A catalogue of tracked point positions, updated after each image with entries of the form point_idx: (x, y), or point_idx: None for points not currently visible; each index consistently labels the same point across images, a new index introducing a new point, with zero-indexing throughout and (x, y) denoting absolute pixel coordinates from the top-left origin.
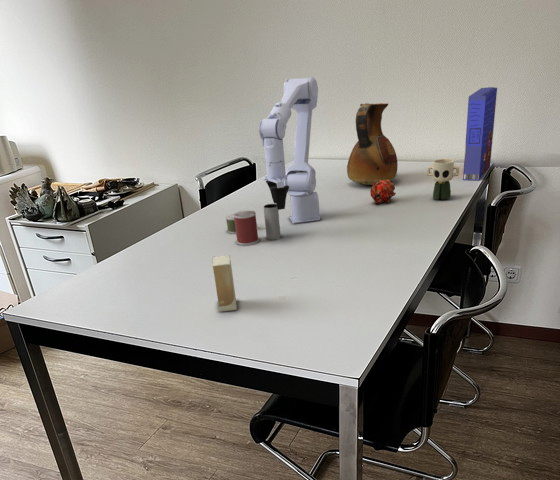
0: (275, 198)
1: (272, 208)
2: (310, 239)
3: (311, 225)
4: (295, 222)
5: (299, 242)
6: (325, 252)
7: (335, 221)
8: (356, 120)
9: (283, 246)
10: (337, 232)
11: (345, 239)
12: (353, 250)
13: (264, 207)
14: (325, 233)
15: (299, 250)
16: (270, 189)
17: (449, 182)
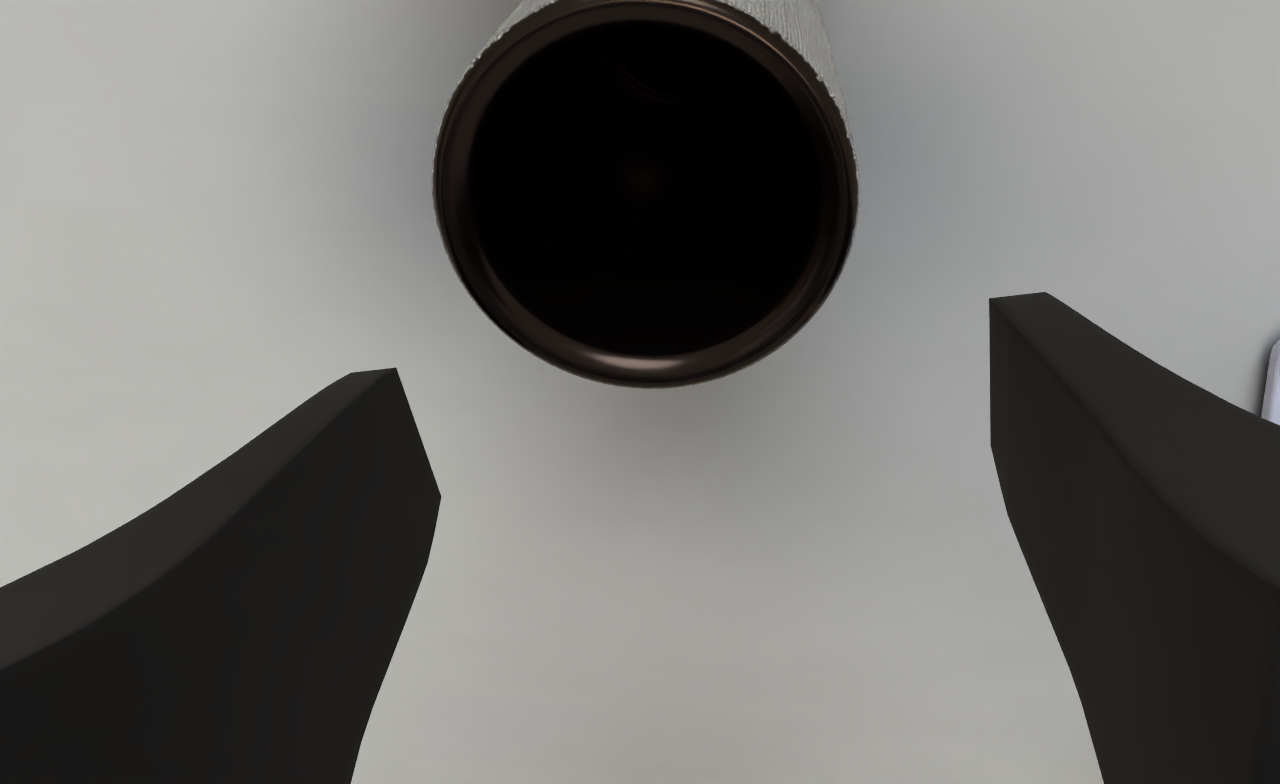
0: (115, 535)
1: (453, 247)
2: (493, 483)
3: None
4: (1275, 371)
5: (398, 360)
6: None
7: (1086, 764)
8: None
9: (252, 151)
10: (673, 732)
11: (432, 757)
12: None
13: (516, 24)
14: (676, 637)
15: (98, 342)
16: (1133, 488)
17: None
